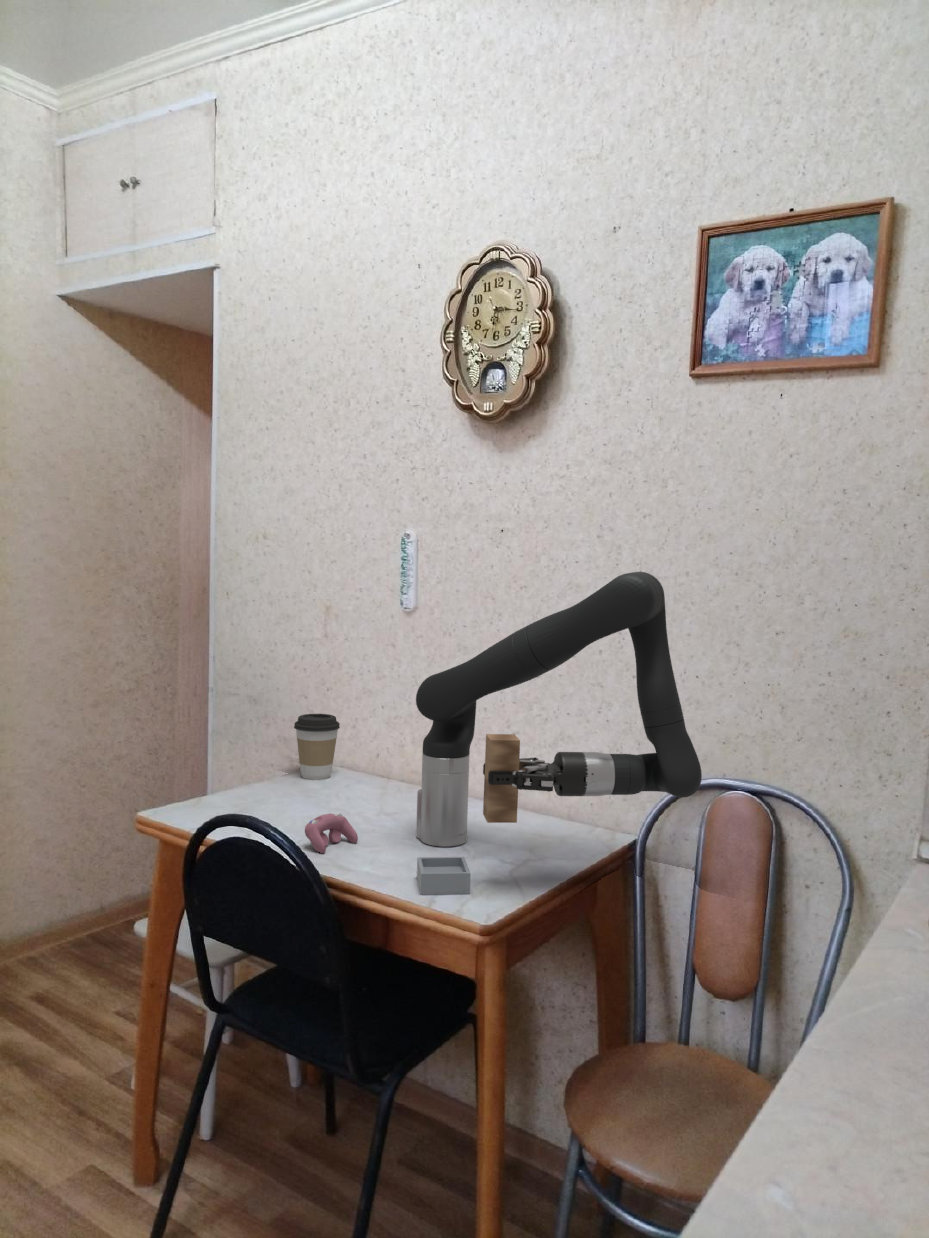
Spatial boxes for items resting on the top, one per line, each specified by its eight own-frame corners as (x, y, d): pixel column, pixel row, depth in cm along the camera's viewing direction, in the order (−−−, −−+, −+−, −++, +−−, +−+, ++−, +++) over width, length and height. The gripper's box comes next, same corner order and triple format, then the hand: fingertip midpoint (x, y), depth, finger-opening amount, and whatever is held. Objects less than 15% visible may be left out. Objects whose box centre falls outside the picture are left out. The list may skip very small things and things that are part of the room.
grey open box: (420, 894, 149) (421, 873, 148) (416, 876, 157) (417, 857, 157) (469, 893, 150) (470, 873, 150) (463, 876, 158) (464, 856, 158)
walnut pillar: (487, 822, 151) (490, 740, 150) (483, 813, 156) (486, 734, 155) (516, 822, 152) (520, 740, 151) (511, 813, 157) (514, 734, 156)
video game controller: (346, 846, 177) (336, 811, 178) (361, 840, 174) (350, 805, 176) (308, 858, 169) (297, 822, 171) (323, 853, 166) (312, 816, 168)
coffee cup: (345, 772, 229) (346, 714, 228) (330, 783, 218) (331, 722, 217) (302, 769, 231) (303, 711, 230) (285, 780, 220) (286, 719, 219)
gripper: (574, 743, 162) (480, 742, 160) (595, 762, 148) (493, 761, 146) (572, 784, 162) (478, 784, 160) (593, 807, 148) (491, 807, 146)
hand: (486, 773), depth 153 cm, fingers closed on walnut pillar, 5 cm apart
